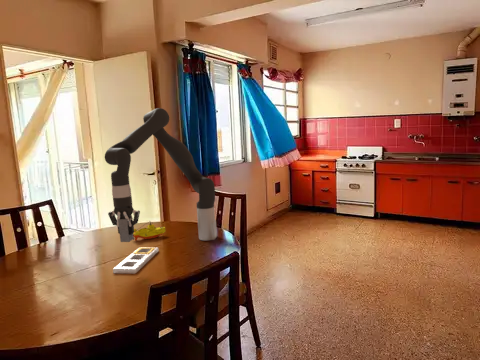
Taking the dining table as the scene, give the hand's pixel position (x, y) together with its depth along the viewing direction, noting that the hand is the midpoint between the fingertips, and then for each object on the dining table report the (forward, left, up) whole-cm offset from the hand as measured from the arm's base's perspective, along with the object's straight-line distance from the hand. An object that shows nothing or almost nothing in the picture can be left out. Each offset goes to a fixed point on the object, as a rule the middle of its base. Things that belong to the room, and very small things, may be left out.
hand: (126, 234), depth 149 cm
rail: (0, -8, -16) cm, 18 cm away
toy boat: (+8, -41, -16) cm, 45 cm away
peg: (0, 0, -3) cm, 3 cm away
